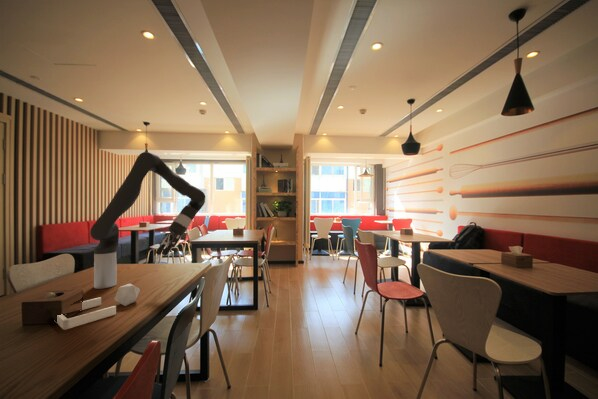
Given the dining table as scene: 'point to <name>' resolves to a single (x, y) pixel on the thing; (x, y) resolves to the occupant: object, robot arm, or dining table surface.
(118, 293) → the die
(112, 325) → the dining table surface
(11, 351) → the dining table surface
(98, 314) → the corral
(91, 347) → the dining table surface
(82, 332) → the dining table surface
